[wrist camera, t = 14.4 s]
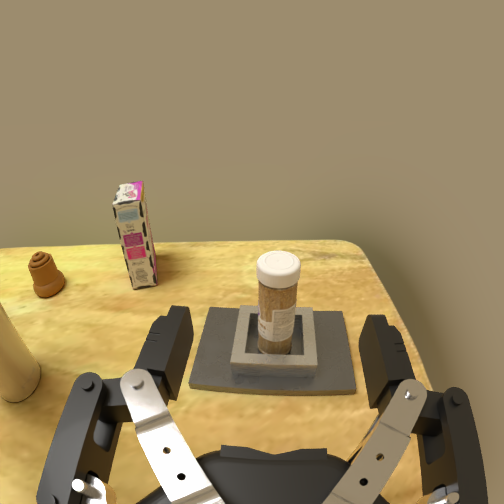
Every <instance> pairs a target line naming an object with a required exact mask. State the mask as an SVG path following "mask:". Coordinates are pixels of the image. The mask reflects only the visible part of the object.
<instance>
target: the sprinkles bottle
mask: <svg viewBox="0 0 504 504" xmlns="http://www.w3.org/2000/svg"><path fill="white" fill-rule="evenodd" d="M300 267H301V264H300V260H299V259H298V258H297V257H296V256H295V255H293V254H291V253H289V252H285V251H271V252H267V253H265V254H263V255H261V256H260V257H259V259H258V261H257V278H258V281H259V300H258V331H259V334H258V335H259V339H258V349H259V351H260V352H261V353H262V354H274V355H286V354H288V353H289V352H290V350H291V347H292V342H291V340H292V333H293V328H294V320H295V310H296V301H297V299H296V295H297V283H298V280H299V278H300Z"/></svg>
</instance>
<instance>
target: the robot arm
mask: <svg viewBox="0 0 504 504" xmlns="http://www.w3.org/2000/svg"><path fill="white" fill-rule="evenodd" d="M193 335H194V332H193V325H192V320H191V315H190V310H189V307H185V306H174V305H172V306H171V308H170V310H169V312H168V315H167V316H159V317H158V318H157V319H156V320H155V321H154V322H153V324H152V326H151V328H150V331H149V334H148V335H147V338H146V341H145V343H144V345H143V347H142V350H141V352H140V355H139V357H138V360H137V362H136V365H135V367H134V369H133V370H130V371H128V372H126V373H125V374H124V375H123V377H121V378H115V379H103V380H102V379H101V378H100V376H99V375H97V374H96V373H92V372H87V373H84V374H82V375H80V376H79V377H78V378H77V379H76V381H75V382H74V385H73V387H72V390H71V392H70V395H69V397H68V400H67V402H66V405H65V407H64V410H63V413H62V415H61V418H60V421H59V423H58V426H57V429H56V432H55V435H54V438H53V441H52V444H51V447H50V450H49V453H48V456H47V459H46V462H45V466H44V469H43V473H42V476H41V480H40V483H39V487H38V491H37V496H36V500H37V504H116V494H115V492H114V490H113V488H112V487H111V486H109V485H108V480H109V475H110V471H111V467H112V462H113V458H114V454H115V450H116V446H117V442H118V438H119V434H120V431H121V427H122V423H123V422H134V423H135V426H136V428H135V431H136V433H137V436H138V438H139V440H140V443H141V445H142V447H143V449H144V451H145V453H146V456H147V458H148V460H149V462H150V464H151V466H152V468H153V470H154V472H155V474H156V476H157V477H158V479H159V481H160V483H161V486H160V487H158V488H157V489H156V490H154V491H153V492H152V493H150V494H149V495H147V496H146V497H145V498H143V499H142V500H140V501H139V502H137V503H136V504H390V503H389V502H387V501H386V500H385V499H384V498H383V497H382V496H381V495H380V494H379V493H380V492H381V490H382V489H383V487H384V486H385V484H386V483H387V481H388V479H389V478H390V476H391V474H392V473H393V471H394V469H395V468H396V466H397V464H398V462H399V461H400V459H401V457H402V455H403V453H404V452H405V450H406V448H407V446H408V444H409V442H410V439H411V437H409V436H410V433H414V434H417V440H418V448H419V456H420V466H421V476H422V490H423V497H421V498H420V499H419V500H418V502H417V503H416V504H488V496H487V487H486V479H485V473H484V466H483V459H482V454H481V449H480V444H479V439H478V434H477V430H476V426H475V422H474V417H473V414H472V410H471V406H470V403H469V399H468V396H467V394H466V393H465V392H464V391H463V390H462V389H460V388H457V387H451V388H449V389H447V390H446V391H445V393H439V392H433V391H429V390H426V388H425V387H424V385H423V384H422V383H421V382H419V381H417V380H416V379H415V376H414V373H413V369H412V366H411V363H410V360H409V357H408V354H407V352H406V347H405V345H404V342H403V339H402V336H401V333H400V332H399V331H398V330H397V329H396V327H395V326H389V325H388V322H387V319H386V317H385V315H368V316H367V318H366V321H365V324H364V327H363V329H362V332H361V335H360V338H359V352H360V357H361V362H362V367H363V372H364V377H365V383H366V388H367V394H368V400H369V406H370V409H373V408H378V412H379V414H378V415H377V417H376V419H375V420H374V422H373V423H372V425H371V427H370V428H369V430H368V431H367V433H366V434H365V436H364V437H363V439H362V440H361V442H360V443H359V445H358V446H357V447H356V449H355V450H354V451H353V453H352V454H351V455H350V456H349V458H348V459H347V460H346V461H345V460H343V459H341V458H339V457H336V456H333V455H330V454H327V448H322V449H299V450H295V451H291V452H286V453H281V454H276V455H273V454H269V453H265V452H262V451H258V450H255V449H251V448H248V447H237V446H227V445H221V450H219V451H213V452H209V453H206V454H204V455H201V456H199V457H198V458H196V459H195V457H194V456H193V454H192V452H191V451H190V449H189V447H188V446H187V444H186V442H185V440H184V439H183V437H182V435H181V433H180V432H179V430H178V428H177V426H176V424H175V422H174V421H173V419H172V417H171V415H170V413H169V411H168V409H167V405H168V401H169V400H175V401H177V397H178V393H179V389H180V386H181V382H182V378H183V375H184V371H185V368H186V364H187V360H188V357H189V353H190V350H191V346H192V343H193ZM40 372H41V371H40V366H39V364H38V362H37V361H36V359H35V358H34V357H33V355H32V354H31V352H30V351H29V349H28V348H27V346H26V345H25V343H24V342H23V340H22V338H21V337H20V335H19V334H18V332H17V331H16V329H15V327H14V326H13V324H12V322H11V321H10V319H9V317H8V315H7V314H6V312H5V310H4V308H3V307H2V305H1V303H0V396H1V397H2V398H3V399H5V400H6V401H9V402H19V401H22V400H24V399H26V398H27V397H28V396H30V395H31V394H32V392H33V391H34V390H35V388H36V387H37V385H38V383H39V379H40Z"/></svg>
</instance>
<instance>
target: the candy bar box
mask: <svg viewBox="0 0 504 504" xmlns="http://www.w3.org/2000/svg"><path fill="white" fill-rule="evenodd" d="M112 206H113V210H114V215H115V220H116V224H117V229H118V233H119V237H120V242H121V246H122V250H123V254H124V258H125V262H126V265H127V269H128V273H129V276H130V280H131V283H132V287H133V289H139V288H145V287H152V286H156V285H157V272H156V255H155V249H154V244H153V240H152V234H151V228H150V223H149V217H148V211H147V204H146V197H145V192H144V184H143V181H139V182H133V183H128V184H123V185H120V186H119V189H118V191H117V194H116V196H115V199H114V202H113V204H112Z"/></svg>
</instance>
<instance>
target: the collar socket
mask: <svg viewBox="0 0 504 504" xmlns="http://www.w3.org/2000/svg"><path fill="white" fill-rule="evenodd" d="M258 334H259V331H258V306H246V305H240V309H237V308H219V307H210V308H209V311H208V315H207V318H206V322H205V325H204V329H203V332H202V336H201V339H200V343H199V347H198V350H197V354H196V357H195V361H194V365H193V368H192V372H191V376H190V379H189V386H190V388H194V389H202V390H210V391H220V392H231V393H244V394H261V395H291V396H317V395H347V394H354V393H355V391H356V384H355V378H354V372H353V366H352V360H351V355H350V349H349V344H348V338H347V333H346V328H345V323H344V318H343V313H342V311H313V309H312V308H311V307H296V310H295V320H294V328H293V333H292V340H291V342H292V347H291V350H290V352H289V353H288V354H286V355H274V354H262V353H261V352H260V351H259V349H258V339H259V335H258Z"/></svg>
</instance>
